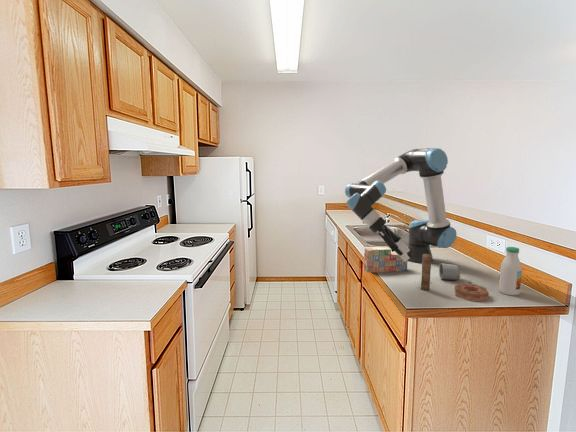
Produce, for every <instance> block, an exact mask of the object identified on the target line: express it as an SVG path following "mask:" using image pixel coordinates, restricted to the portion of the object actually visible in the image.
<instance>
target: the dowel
mask: <svg viewBox="0 0 576 432" xmlns="http://www.w3.org/2000/svg"><path fill="white" fill-rule="evenodd" d="M431 266H432V261H431V255H430V254H423V255H422V263H421V284H420V290H422V291H425V292H426V291H427V292H428V291H430V290H431V289H430V288H431V270H432V267H431Z"/></svg>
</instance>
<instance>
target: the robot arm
mask: <svg viewBox="0 0 576 432" xmlns="http://www.w3.org/2000/svg"><path fill="white" fill-rule="evenodd" d="M448 163H449V161H448V156H447V154H446V152H445V151H444V150H443V149H442V148H439V147H437V148H436V147H430V148H429V147H428V148H413V149H411V150H408V151H407V152H404V153H403V154H400V155H398V156H397V157H395V158H394V159H393V161H392V162H390V163H388V164H387V165H385V166H383V167H382V168H380V169H378V170H377V171H375V172H373V173H372V174H370V175H368V176H366V177H364V178H362V179H361V180H360V181H357V182H355V183H349V184H347V185H346V187H345V189H344V193H345V196H346V197H347V198H348V200H347V201H346V206H347V207H348V208H349V209H350V211H352V212H353V213H354V215H356V216H357V217H358V218H359V219H360V220H361V221H362V224H365V225H366V227H368V229H369V230H370V231H371V232H372V233H374V234H375V233H376V232H379V233H378V235H379V236H380V237H381V239H383V241H384V242H385V244H386V245H387V247H388V248H390V249H391V252H396V253H397V254H398V255H399V257H400V258H401V259H402V260H403V261H404V262H406V261H407V260H408V261H409V262H411V263H418V264H422V255H423V254H430V255H431V262H432V261H433V254H432V249H431V246H433V247H438V248H442V249H448V248H450V247H452V246H453V245H454V243H455V241H456V240H457V230H456V228H454V227H453V226H451V222H450V219H449V220H448V219H447V213H446V205H445V197H444V190H443V181H442V180H443V179H442V176H443V174H445V173H444V171H445V170H446V169H447V167H448ZM409 172H418V175H419V177H420V179H422V180H423V186H424V193H425V194H424V195H425V200H426V202H425V203H426V208H427V215H428V219H419V220H412V221H410V222H409V225H408V246H407V245H406V244H405V243H404V242H403V241H402V240H401V239H402V238H401V236H398V235H397V234H396V233H394V232H393V230H391V229H390V228H389V227H388V226H387V225H386V223H387V222H386V219H384V218H383V217H382V216H380V213H378V211H376V210H375V208H373V205H375V203H376V202H378V201H379V200H380V199H381V198H382V197H383V196H384V195H385V194H386V192H387V187H386V185H385V184H386V183H387V182H389V181H391V180H393V179H394V178H396V177H398V176H399V175H405V174H407V173H409ZM407 254H408V255H407Z"/></svg>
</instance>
